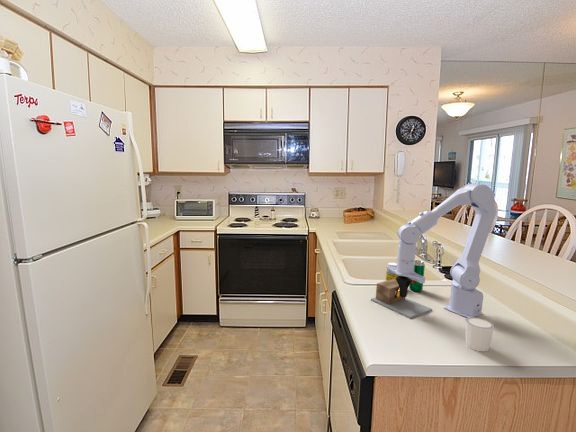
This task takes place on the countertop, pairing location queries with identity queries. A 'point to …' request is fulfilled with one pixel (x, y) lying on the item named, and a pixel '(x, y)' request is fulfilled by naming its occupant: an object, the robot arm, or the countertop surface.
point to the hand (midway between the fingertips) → (403, 296)
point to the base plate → (406, 307)
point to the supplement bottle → (391, 275)
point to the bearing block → (387, 292)
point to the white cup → (478, 333)
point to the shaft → (398, 294)
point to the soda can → (419, 269)
